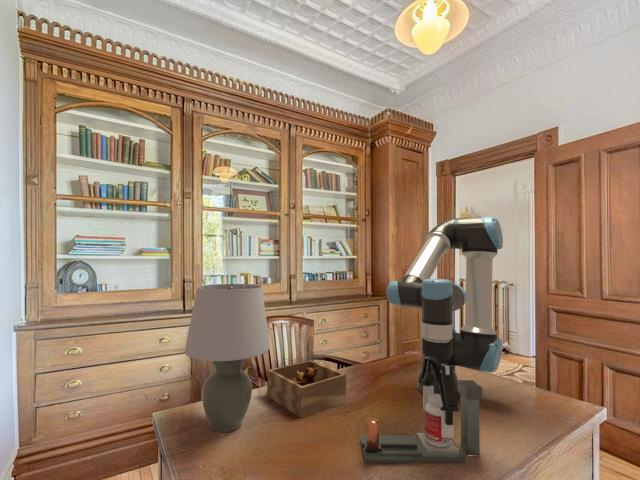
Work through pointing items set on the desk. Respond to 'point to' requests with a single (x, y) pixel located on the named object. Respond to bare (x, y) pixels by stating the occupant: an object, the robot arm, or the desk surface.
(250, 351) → the lamp
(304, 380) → the bear figurine
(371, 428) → the lever
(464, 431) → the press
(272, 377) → the bear crate
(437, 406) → the pill bottle
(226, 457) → the desk surface
